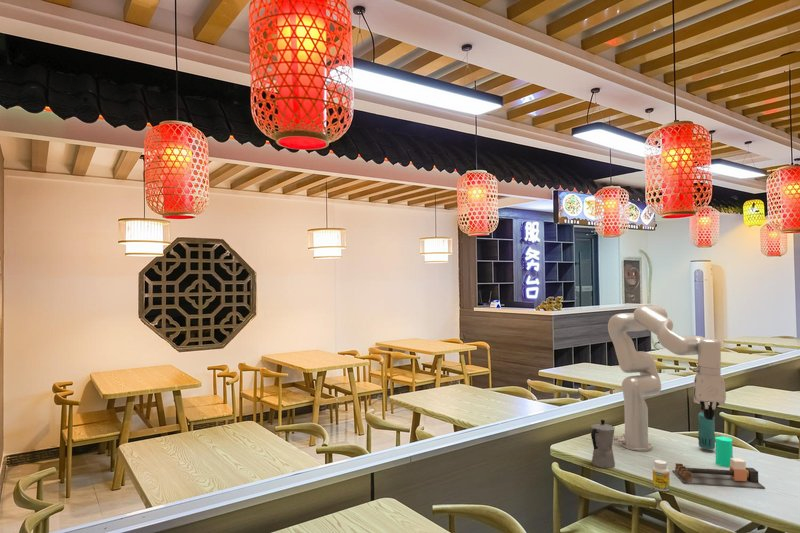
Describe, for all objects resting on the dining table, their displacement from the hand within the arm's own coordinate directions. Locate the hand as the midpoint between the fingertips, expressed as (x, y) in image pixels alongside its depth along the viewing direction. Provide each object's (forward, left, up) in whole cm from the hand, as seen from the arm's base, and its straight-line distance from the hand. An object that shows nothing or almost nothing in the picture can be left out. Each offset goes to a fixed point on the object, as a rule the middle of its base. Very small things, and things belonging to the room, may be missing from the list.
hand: (708, 418), depth 196 cm
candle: (+11, +14, -22) cm, 28 cm away
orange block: (+8, -4, -21) cm, 23 cm away
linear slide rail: (+1, -4, -22) cm, 22 cm away
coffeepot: (-38, +5, -22) cm, 44 cm away
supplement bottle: (-22, -16, -22) cm, 35 cm away
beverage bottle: (+11, +31, -22) cm, 40 cm away
